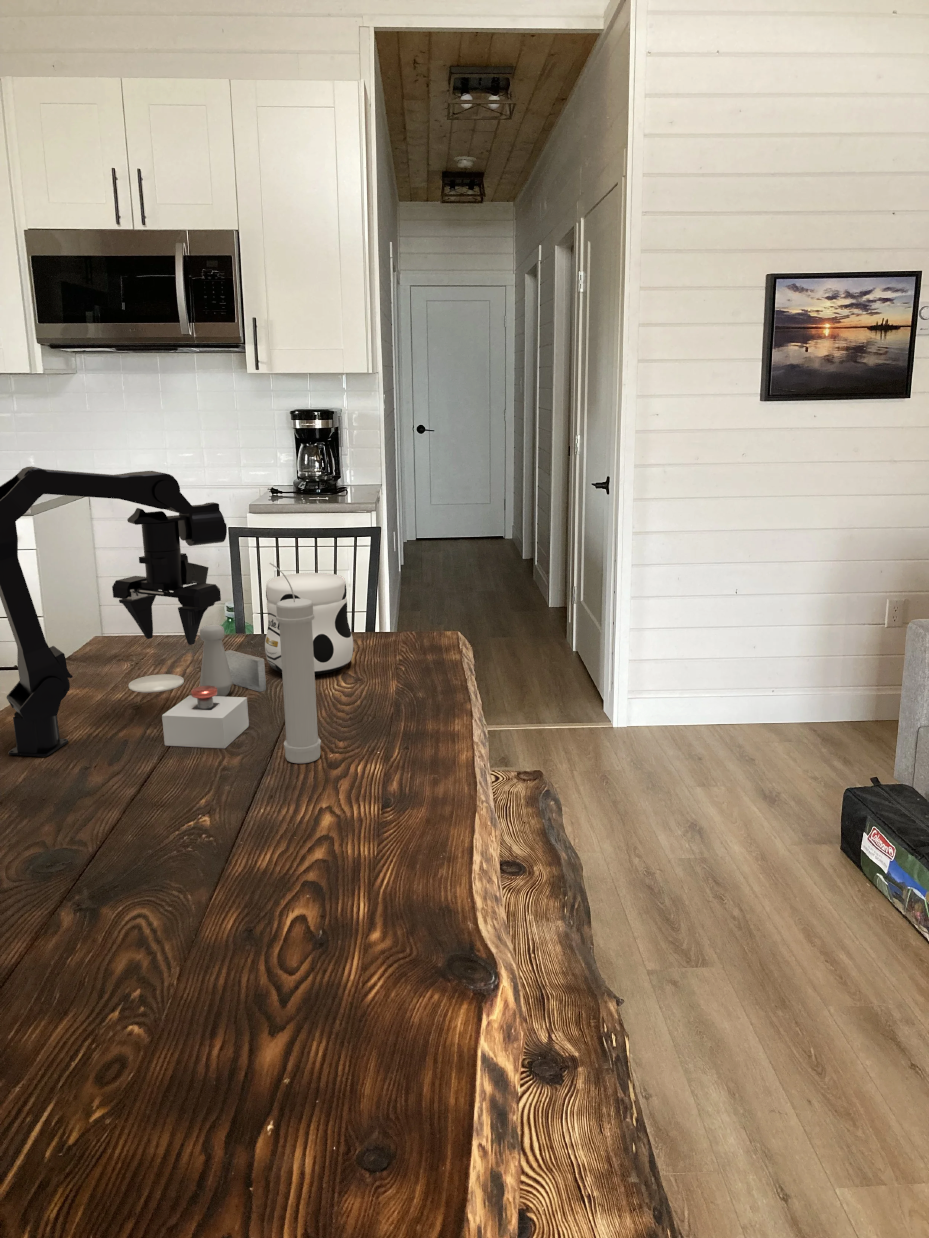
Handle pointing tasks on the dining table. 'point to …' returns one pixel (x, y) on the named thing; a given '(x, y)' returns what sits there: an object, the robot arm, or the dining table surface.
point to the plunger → (204, 696)
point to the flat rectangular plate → (246, 670)
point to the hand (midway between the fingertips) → (170, 641)
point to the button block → (205, 722)
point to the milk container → (326, 626)
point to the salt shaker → (215, 660)
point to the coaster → (156, 683)
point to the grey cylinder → (298, 679)
